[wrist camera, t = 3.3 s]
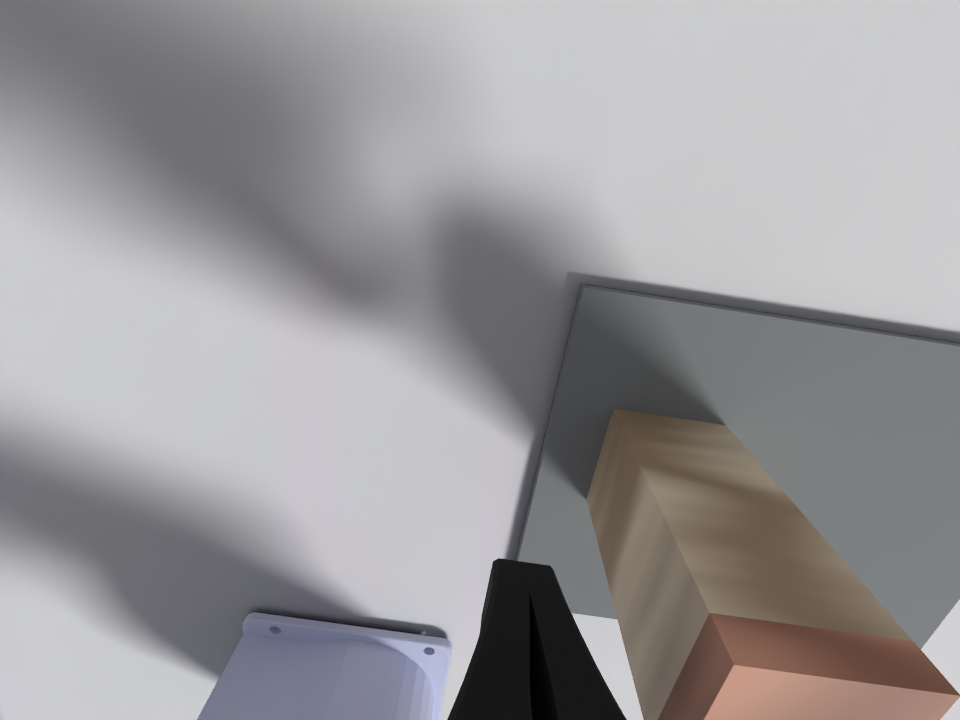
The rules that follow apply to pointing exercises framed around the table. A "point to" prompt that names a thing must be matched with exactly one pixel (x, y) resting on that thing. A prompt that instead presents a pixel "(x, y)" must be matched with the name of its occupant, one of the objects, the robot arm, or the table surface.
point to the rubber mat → (768, 436)
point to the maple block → (740, 590)
